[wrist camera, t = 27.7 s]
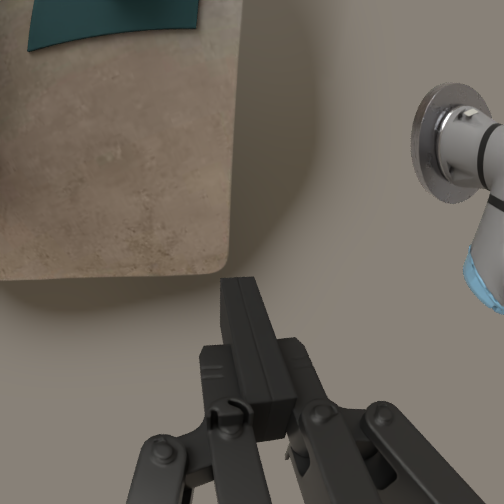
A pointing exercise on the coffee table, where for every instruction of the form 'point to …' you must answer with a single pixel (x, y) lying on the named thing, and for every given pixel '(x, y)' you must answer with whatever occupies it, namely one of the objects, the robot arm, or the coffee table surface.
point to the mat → (105, 18)
